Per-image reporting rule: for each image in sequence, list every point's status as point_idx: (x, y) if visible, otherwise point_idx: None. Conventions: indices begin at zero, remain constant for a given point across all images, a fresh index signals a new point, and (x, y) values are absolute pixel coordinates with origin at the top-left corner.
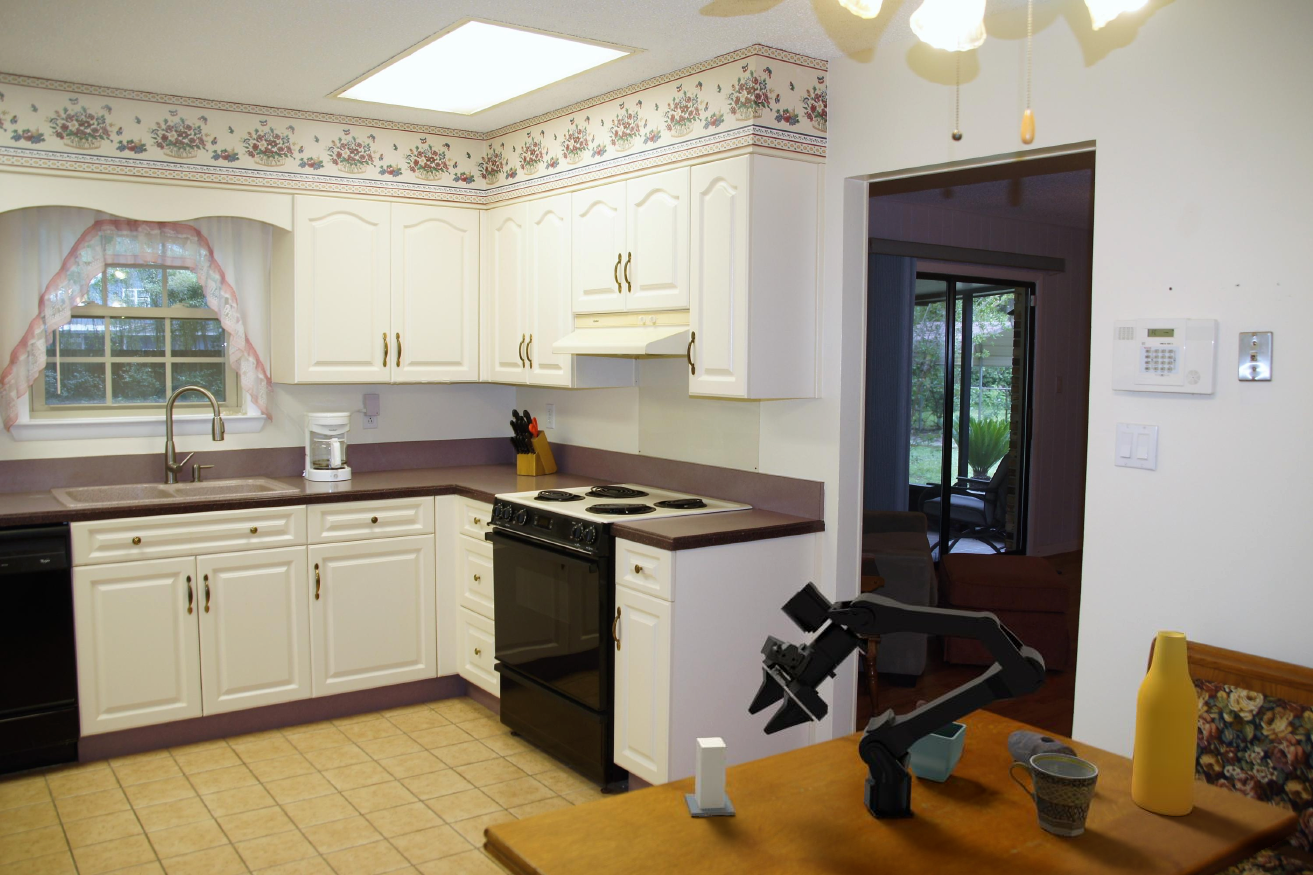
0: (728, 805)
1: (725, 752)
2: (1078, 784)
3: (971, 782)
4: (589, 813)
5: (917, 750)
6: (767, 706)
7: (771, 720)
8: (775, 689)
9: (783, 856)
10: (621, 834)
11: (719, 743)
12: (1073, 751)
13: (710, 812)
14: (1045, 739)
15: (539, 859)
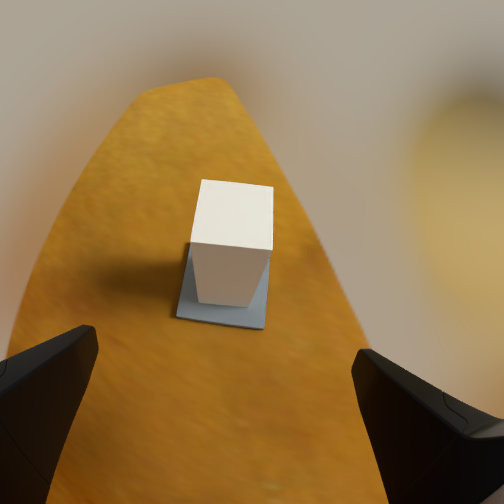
0: (206, 313)
1: (191, 249)
2: None
3: None
4: (238, 132)
5: None
6: (371, 442)
7: (48, 346)
8: (430, 495)
9: (31, 332)
10: (169, 149)
11: (220, 230)
12: None
13: (185, 270)
14: None
15: (150, 92)
